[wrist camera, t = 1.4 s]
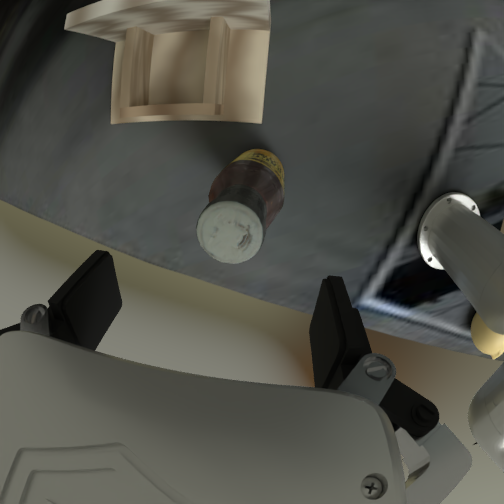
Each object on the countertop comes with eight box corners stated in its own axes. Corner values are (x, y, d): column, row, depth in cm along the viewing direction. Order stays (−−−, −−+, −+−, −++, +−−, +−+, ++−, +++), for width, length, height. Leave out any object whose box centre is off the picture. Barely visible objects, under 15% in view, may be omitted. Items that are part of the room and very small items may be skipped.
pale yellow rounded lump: (487, 332, 44) (506, 364, 34) (456, 332, 44) (476, 369, 34) (511, 292, 38) (535, 323, 29) (483, 288, 38) (510, 323, 29)
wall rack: (271, 19, 24) (267, -22, 13) (261, 123, 30) (254, 127, 20) (121, 31, 24) (67, 13, 14) (114, 123, 31) (57, 135, 21)
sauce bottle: (293, 179, 33) (310, 259, 16) (251, 203, 36) (225, 301, 18) (264, 135, 31) (249, 164, 14) (222, 162, 33) (161, 223, 16)
